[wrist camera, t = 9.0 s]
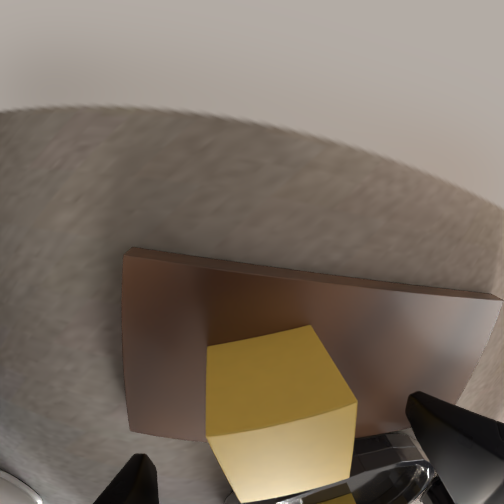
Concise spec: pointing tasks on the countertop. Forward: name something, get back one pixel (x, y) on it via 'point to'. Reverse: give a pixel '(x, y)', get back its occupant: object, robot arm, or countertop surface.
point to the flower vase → (16, 491)
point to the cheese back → (341, 500)
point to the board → (286, 318)
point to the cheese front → (278, 414)
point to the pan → (372, 474)
